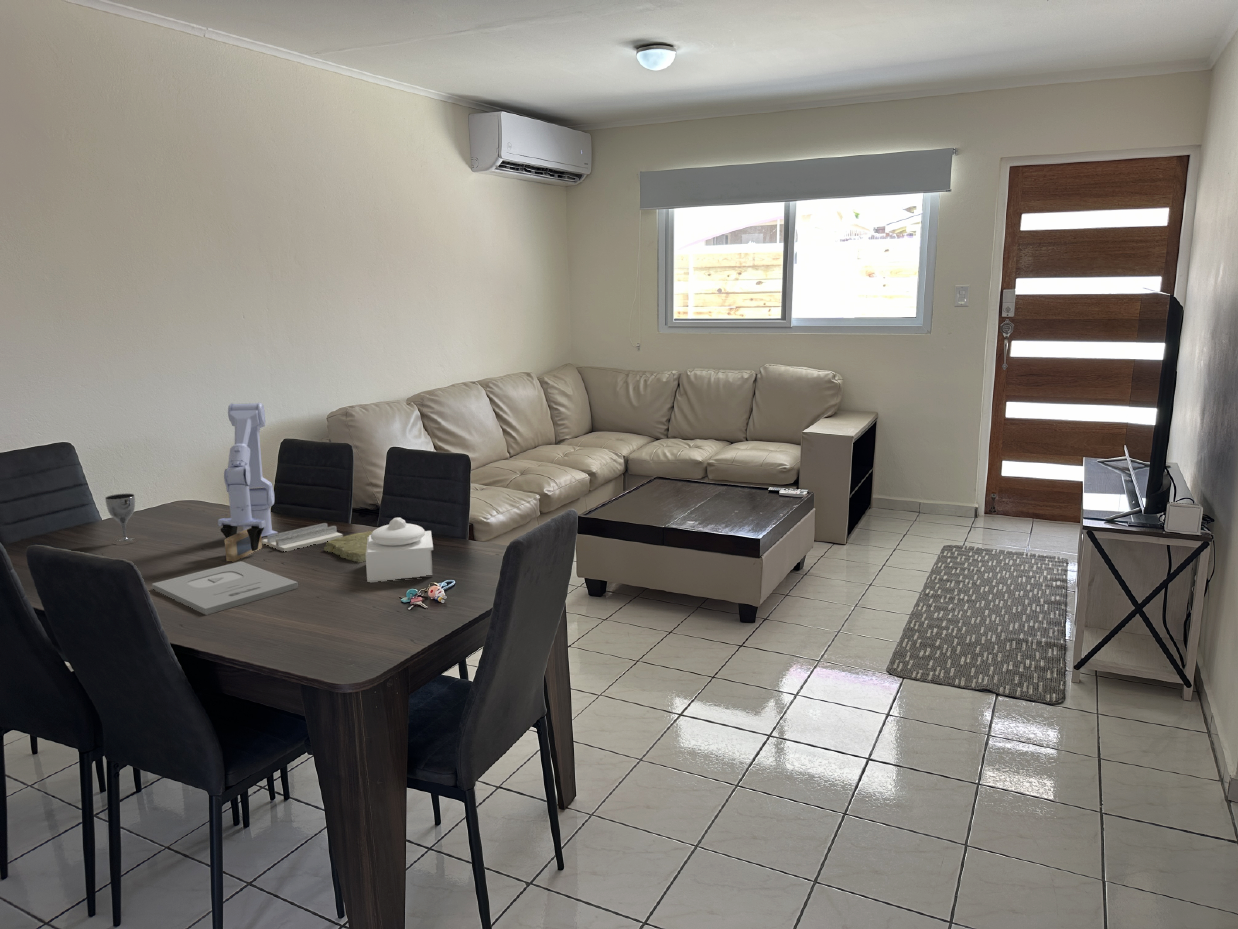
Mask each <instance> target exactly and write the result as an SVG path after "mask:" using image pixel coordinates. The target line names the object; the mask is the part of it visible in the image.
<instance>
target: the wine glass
mask: <svg viewBox="0 0 1238 929" xmlns="http://www.w3.org/2000/svg"><path fill="white" fill-rule="evenodd" d="M105 504H106V509H107V511H108V514H109V515H110V516H111V517H112V518H113V519H114V520H115V521H117V522H118V523H119V525H120V526H121V529H122V534H123V535H122V536H123V538H122V539H119V541H133V540H132V539H133V538H128V537H127V533H126V532H127V531H126V528H127V523H128V521H129V520H130V519H131V517H132V516H133V514H134V512H135V508H136V507H135V506H136V498H135V494H134V493H129V492H128V493H117V494H111V495H108V496H105Z"/></svg>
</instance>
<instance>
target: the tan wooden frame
mask: <svg viewBox="0 0 1238 929" xmlns="http://www.w3.org/2000/svg"><path fill="white" fill-rule="evenodd" d="M249 529H250V528H249ZM223 540H224V550H225V557H226V558H225V559H226V562H227V561H232V562H231V563H236V562H238V561H239V560H241V559H243V558H245V557H248V556H249V554H250V555H251V553H252V554H253V552H254V551H252V549H251V542H250V538H249V535H248V532H247V529H246V530H244V529H243V530H242V531H240V532H237V534H235V535H233V536H230V537H228V538H226V537H225V538H224V539H223ZM262 540H263V539H262V537H261V536H260V540H259V545H258V549H257V550H258V551H260V550H262V549H263V544H262ZM261 548H262V549H261ZM259 549H260V550H259ZM257 550H255V551H256V552H257ZM254 553H255V552H254ZM240 558H241V559H240Z"/></svg>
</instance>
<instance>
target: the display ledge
mask: <svg viewBox="0 0 1238 929" xmlns="http://www.w3.org/2000/svg"><path fill="white" fill-rule="evenodd" d="M337 527H338V526H336V525H331V526H328V523H326V522H323V523H319V524H318V523H317V524H314V525H309V526H306V527H301V528H297V529H293V530H287V531H282V532H277V534H272V535H268V536H266V538H265V539H262V545H264V544H266V545H265V546H267V545H269V546H268V547H270V548H272V547H273V549H275V548H276V550H278V551H280V552H283V551H284V553H286V552H285V551H287V552H292V551H295V550H298V549H297V548H300V549H303V547H304V548H307V546H308V547H311V546H310V545H312V546H314V545H313V544H316V545H320V544H324V543H326V542H327V541H331V540H333V539H336V538H341V537H344V534H343V533H340V532H338V531H337V530H338V529H337ZM294 549H295V550H294Z"/></svg>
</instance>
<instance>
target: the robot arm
mask: <svg viewBox="0 0 1238 929" xmlns="http://www.w3.org/2000/svg"><path fill="white" fill-rule="evenodd" d="M265 413H266V412H265V407H264V404H263V403H262V402H252V403H251V402H250V403H233V402H232V403H229V405H228V408H227V415H228V416H227V417H228V420H229V422H230V424H231V426H232V427H234V445H232V446H231V447H230V448H229V455H228V463H227V468H225V469H224V473H223V479H224V480H223V481H224V484H225V487H226V488H225V489H226V493H228V501H229V511H230V512H229V513H230V517H228V518H226V517H223V518H219V519H217V522H218V523H217V524H218V527H221V528H220V532H221V534H223V536H224V537H225V539H226V538H228V537H230V536H233V535H235V534H237V533H238V527H243V531H244V530H246V529H247V532H248V535H249V538H250V542H251V549H252V551H255V550H257V549H258V545H259V540H260V536H261V538H262V537H267V536H269V535H273V534H278V531H275V530H273V527H272V515H271V507H272V506H273V505H274V504H275V491H274V486H273V484H272V483H273V482H271V481H269V480H268V479H267V478H265V477H264V476H263V463H262V451H261V450H262V449H261V438H260V436H261V434H260V432H261V429H262V428H263V427H265V426H266V414H265ZM249 528H250V529H249Z"/></svg>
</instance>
